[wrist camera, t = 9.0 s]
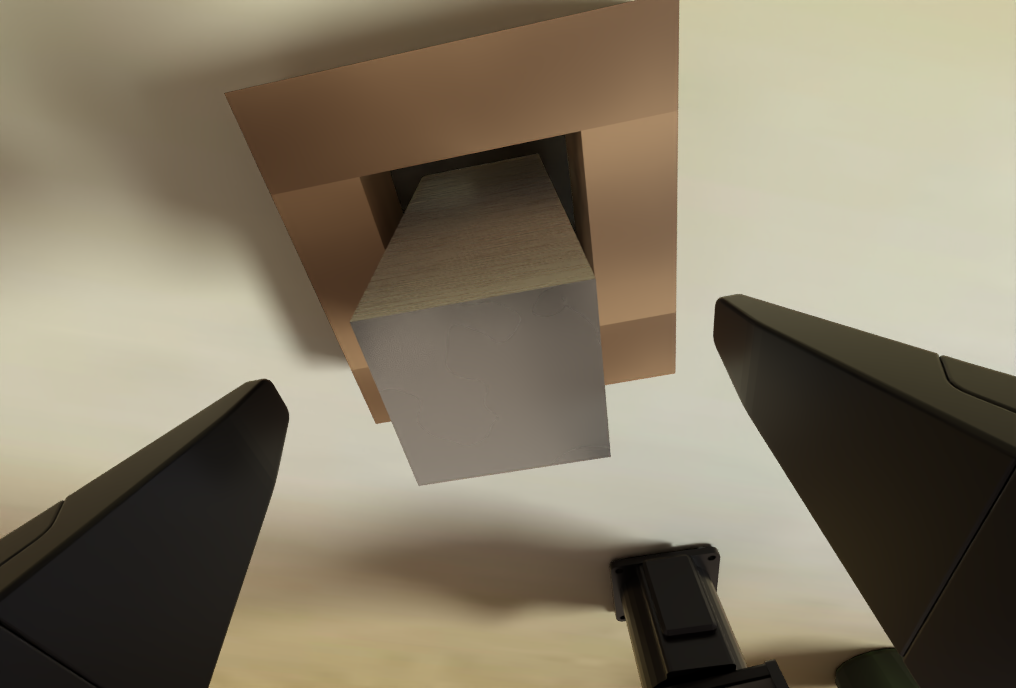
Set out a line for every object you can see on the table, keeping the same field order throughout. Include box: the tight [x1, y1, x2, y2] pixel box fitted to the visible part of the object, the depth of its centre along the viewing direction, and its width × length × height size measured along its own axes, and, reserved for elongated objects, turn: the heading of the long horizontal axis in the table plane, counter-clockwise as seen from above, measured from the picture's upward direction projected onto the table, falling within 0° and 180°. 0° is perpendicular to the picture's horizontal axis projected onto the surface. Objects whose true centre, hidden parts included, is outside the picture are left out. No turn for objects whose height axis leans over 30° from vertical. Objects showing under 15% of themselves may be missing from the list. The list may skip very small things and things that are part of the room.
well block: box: [224, 0, 679, 424], centre depth 15 cm, size 11×11×4 cm
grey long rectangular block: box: [350, 154, 611, 486], centre depth 13 cm, size 4×4×10 cm
